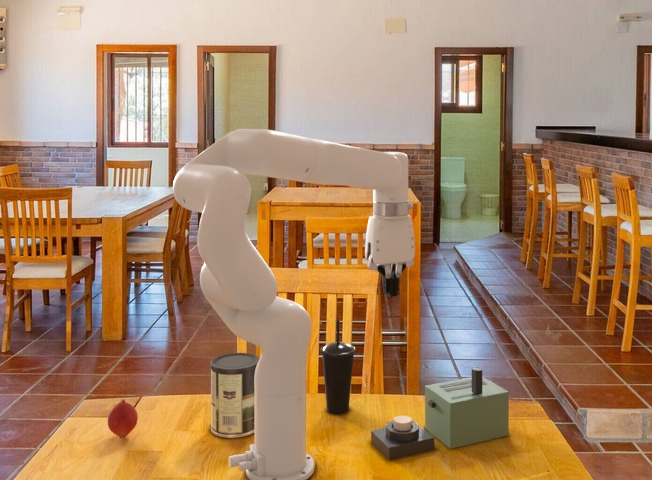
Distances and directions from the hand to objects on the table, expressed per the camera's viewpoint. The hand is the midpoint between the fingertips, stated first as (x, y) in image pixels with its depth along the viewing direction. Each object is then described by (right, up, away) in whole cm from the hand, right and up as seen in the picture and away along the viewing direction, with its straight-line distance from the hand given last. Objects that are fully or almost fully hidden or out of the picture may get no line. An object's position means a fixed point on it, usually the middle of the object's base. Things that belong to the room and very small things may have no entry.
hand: (390, 295), depth 151 cm
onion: (-55, -27, -7) cm, 62 cm away
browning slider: (+17, -18, -7) cm, 26 cm away
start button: (+2, -24, -11) cm, 26 cm away
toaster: (+16, -27, -5) cm, 32 cm away
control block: (+2, -27, -11) cm, 29 cm away
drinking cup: (-11, -27, +6) cm, 30 cm away
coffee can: (-33, -27, -3) cm, 43 cm away
